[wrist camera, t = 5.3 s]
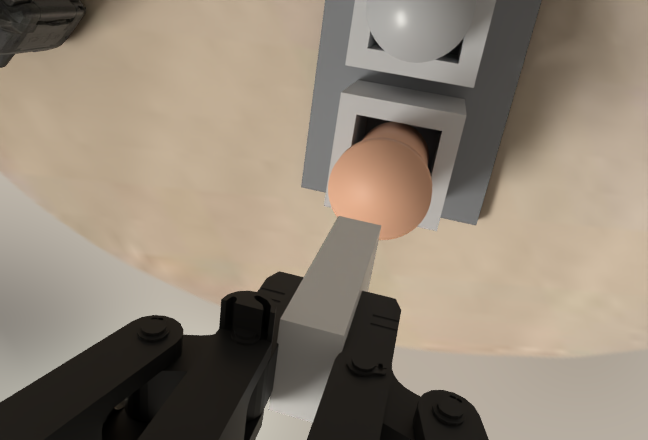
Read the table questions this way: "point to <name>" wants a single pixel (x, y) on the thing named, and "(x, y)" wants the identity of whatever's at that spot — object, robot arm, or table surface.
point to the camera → (36, 25)
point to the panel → (420, 99)
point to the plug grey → (419, 26)
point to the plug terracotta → (384, 180)
